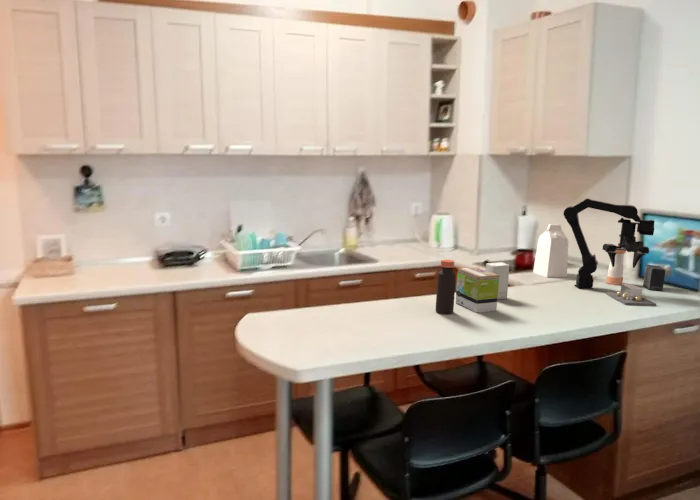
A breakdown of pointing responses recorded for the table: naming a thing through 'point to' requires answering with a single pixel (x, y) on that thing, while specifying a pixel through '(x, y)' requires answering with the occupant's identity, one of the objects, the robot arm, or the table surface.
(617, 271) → the pepper shaker
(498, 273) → the skincare box
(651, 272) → the small box
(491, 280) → the tea box
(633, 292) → the block
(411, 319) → the table surface
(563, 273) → the milk
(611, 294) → the pin tray
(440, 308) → the bottle
